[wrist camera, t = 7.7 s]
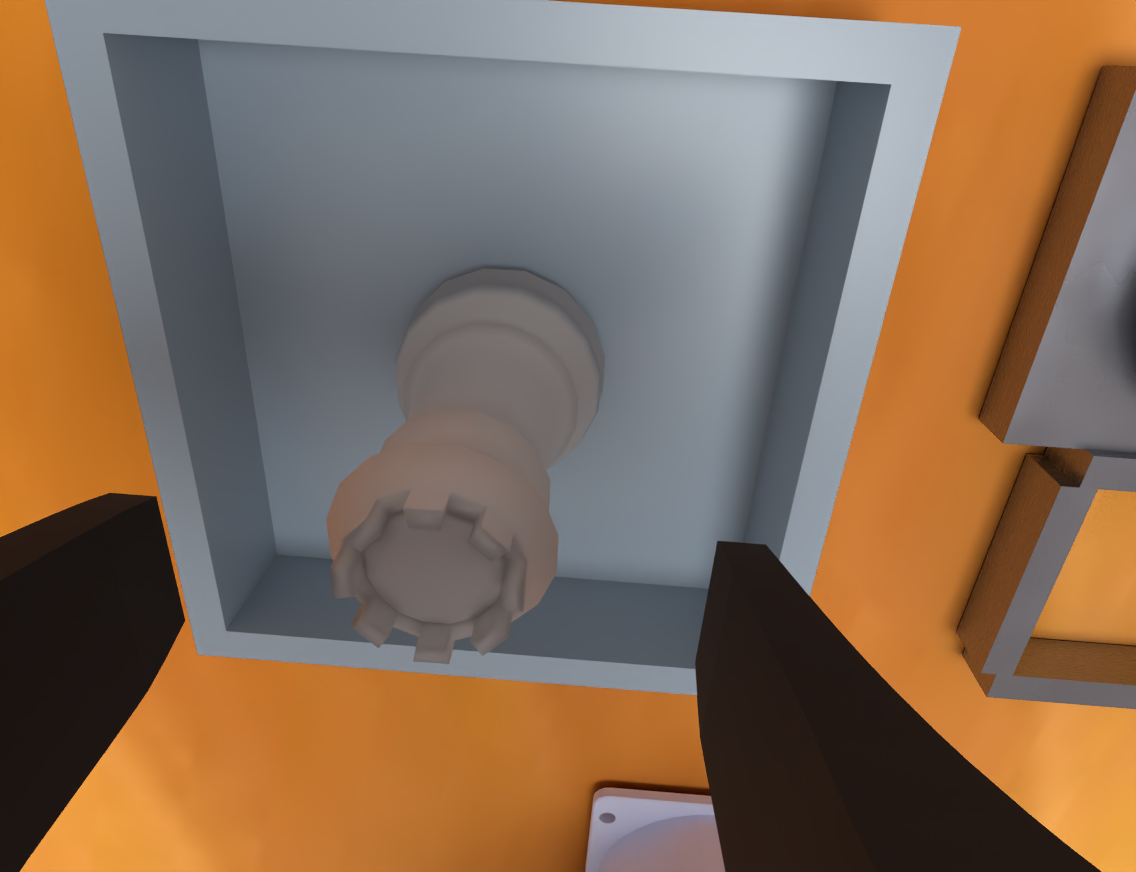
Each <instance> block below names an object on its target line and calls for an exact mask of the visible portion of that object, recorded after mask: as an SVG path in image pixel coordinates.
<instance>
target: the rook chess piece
mask: <svg viewBox="0 0 1136 872" xmlns="http://www.w3.org/2000/svg"><path fill="white" fill-rule="evenodd" d="M604 365H605V355H604V352H603V349H602V347H601V344H600V341H599V338H598V335H597V333H596V330H595V327H594V324H593V321H592V319H591V318H590V317H589V316H588V315H587V314H586V313H585V312H584V311H583V310H582V308H581V307H580V306H579V305H578V304H577V303H576V302H575V301H574V300H573V299H572V297H571V296H570V295H569V294H568V293H567V292H566V291H565V290H564V289H562V288H560V287H558V286H556V285H554V284H552V283H550V282H548V281H545V280H543V279H541V278H539V277H537V276H535V275H533V274H531V273H529V272H527V271H517V270H501V269H485V268H483V269H480V270H477V271H474V272H472V273H469V274H466V275H463V276H460V277H457V278H454V279H452V280H449V281H446V282H444V283H443V284H442V285H441V286H440V287H439V288H438V289H437V290H436V291H435V292H434V293H433V294H432V295H430V296H429V297H428V298H427V299H426V300H425V301H424V302H423V303H422V304H421V305H420V306H419V307H418V308H417V309H416V311H415V314H414V317H413V319H412V322H411V323H410V324H409V326H408V329H407V331H406V334H405V336H404V339H403V342H402V344H401V347H400V349H399V352H398V355H397V357H396V377H397V393H398V404H399V406H400V408H401V410H402V412H403V414H404V416H405V419H406V422H405V423H404V424H403V425H402V426H401V427H399V428H398V429H397V430H396V431H395V432H394V433H393V434H392V435H390V436H389V437H388V438H387V439H386V440H385V441H384V444H383V446H382V449H381V451H380V453H379V454H375V455H372V456H370V457H369V458H368V459H367V460H365V461H364V462H363V463H362V464H361V465H360V466H359V467H357V468H356V469H355V470H354V471H353V472H352V473H351V474H350V475H348V476H347V477H346V478H345V479H344V480H343V481H342V482H340V484H339V486H338V489H337V491H336V494H335V497H334V499H333V502H332V505H331V507H330V510H329V512H328V515H327V518H326V522H327V530H328V538H329V546H330V554H331V558H332V559H333V563H332V565H331V567H330V576H331V584H332V592H333V599H337V598H349V597H355V596H356V597H357V599H358V600H359V602H360V603H361V606H360V608H359V610H358V612H357V614H356V617H355V619H354V621H353V623H352V625H351V627H352V628H353V629H354V630H356V631H357V632H358V633H359V634H361V635H362V636H363V637H365V638H366V639H367V640H368V641H370V642H371V643H372V644H374V645H375V646H376V647H377V648H380V646H381V645H382V644H383V643H384V642H385V640H386V639H387V638H388V637H389V636H390V633H391V630H392V628H393V627H394V628H397V629H399V630H402V631H404V632H407V633H410V634H412V635H415V636H417V637H419V639H418V642H417V645H416V649H415V654H414V659H413V661H414V662H427V663H440V664H449V662H450V658H451V655H452V651H453V647H454V643H455V640H459V639H463V638H467V637H471V640H470V642H471V643H472V645H473V646H474V647H475V648H476V649H477V651H478V652H479V653H480V654H481V655H482V656H483V655H485V654H486V653H488V652H489V651H491V650H492V649H494V648H495V647H497V646H498V645H500V644H501V643H502V642H504V641H505V640H507V639H508V638H509V632H510V627H511V623H512V622H513V621H514V620H516V619H517V618H519V617H520V616H522V615H523V614H525V613H526V612H528V611H529V610H530V609H532V608H533V607H535V606H536V605H538V604H539V602H540V600H541V599H542V597H543V595H544V594H545V592H546V590H547V588H548V587H549V585H550V583H551V582H552V580H553V578H554V577H555V575H556V573H557V561H558V542H559V534H558V532H557V530H556V527H555V525H554V523H553V521H552V518H551V516H550V514H549V505H550V482H551V480H550V478H549V476H548V473H547V471H546V470H547V469H549V468H551V467H552V466H553V465H554V464H556V463H557V462H558V461H560V460H561V459H562V458H563V457H565V456H566V455H567V454H569V453H570V452H571V451H573V450H574V449H575V448H576V447H577V446H578V445H579V444H580V442H581V441H582V439H583V437H584V436H585V434H586V432H587V430H588V428H589V426H590V425H591V423H592V421H593V419H594V417H595V416H596V414H597V412H598V410H599V399H600V397H601V395H602V391H603V378H604Z"/></svg>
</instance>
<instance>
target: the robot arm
mask: <svg viewBox="0 0 1136 872" xmlns="http://www.w3.org/2000/svg"><path fill="white" fill-rule="evenodd" d="M184 622H185V618H184V613H183V609H182V605H181V601H180V596H179V592H178V588H177V583H176V579H175V575H174V571H173V566H172V562H171V558H170V553H169V549H168V545H167V541H166V536H165V532H164V528H163V523H162V519H161V515H160V511H159V506H158V502H157V498H156V497H155V496H142V495H129V494H117V493H108V494H105V495H102V496H100V497H97V498H94V499H91V500H88V501H85V502H83V503H80V504H77V505H75V506H72V507H70V508H68V509H65V510H63V511H60V512H58V513H55V514H53V515H51V516H48V517H46V518H44V519H41V520H39V521H37V522H34V523H32V524H30V525H27V526H25V527H23V528H21V529H18V530H16V531H14V532H12V533H9V534H7V535H5V536H3V537H0V872H20V870H21V869H22V867H23V866H24V864H25V863H26V861H27V860H28V858H29V857H30V856H31V854H32V853H33V851H34V850H35V849H36V847H37V846H38V844H39V843H40V842H41V840H42V839H43V838H44V836H45V835H46V833H47V832H48V831H49V829H50V828H51V826H52V825H53V824H54V822H55V821H56V819H57V818H58V817H59V815H60V814H61V813H62V811H63V810H64V808H65V807H66V806H67V804H68V803H69V801H70V800H71V799H72V797H73V796H74V794H75V793H76V792H77V790H78V789H79V788H80V786H81V785H82V783H83V782H84V781H85V779H86V778H87V776H88V775H89V774H90V772H91V771H92V769H93V768H94V767H95V765H96V764H97V763H98V761H99V760H100V758H101V757H102V756H103V754H104V753H105V751H106V750H107V749H108V747H109V746H110V744H111V743H112V742H113V740H114V739H115V737H116V736H117V734H118V733H119V732H120V730H121V729H122V727H123V726H124V725H125V723H126V722H127V720H128V719H129V717H130V716H131V715H132V713H133V712H134V710H135V709H136V708H137V706H138V705H139V703H140V702H141V700H142V699H143V697H144V696H145V694H146V693H147V691H148V690H149V688H150V686H151V684H152V683H153V681H154V679H155V677H156V675H157V674H158V672H159V670H160V668H161V666H162V665H163V663H164V661H165V659H166V657H167V655H168V653H169V651H170V649H171V647H172V645H173V643H174V641H175V639H176V637H177V635H178V634H179V632H180V630H181V628H182V626H183V624H184ZM695 669H696V685H697V702H698V715H699V728H700V739H701V744H702V750H703V756H704V761H705V767H706V772H707V777H708V783H709V788H710V794H711V796H706V795H694V794H682V793H671V792H659V791H647V790H635V789H623V788H611V787H608V788H602V789H599V790H598V791H597V792H595V794H594V796H593V804H592V813H591V822H590V831H589V840H588V849H587V858H586V867H585V872H1101V871H1100V870H1099V869H1097V868H1096V867H1095V866H1093V865H1092V864H1091V863H1090V862H1088V861H1087V860H1086V859H1084V858H1083V857H1082V856H1080V855H1079V854H1078V853H1077V852H1075V851H1074V850H1073V849H1071V848H1070V847H1069V846H1068V845H1066V844H1065V843H1064V842H1063V841H1062V840H1060V839H1059V838H1058V837H1057V836H1055V835H1054V834H1053V833H1052V832H1050V831H1049V830H1048V829H1047V828H1046V827H1044V826H1043V825H1042V824H1041V823H1039V822H1038V821H1037V820H1036V819H1034V818H1033V817H1032V816H1031V815H1030V814H1028V813H1027V812H1026V811H1025V810H1024V809H1023V808H1022V807H1020V806H1019V805H1018V804H1017V803H1016V802H1015V801H1013V800H1012V799H1011V798H1010V797H1009V796H1008V795H1007V794H1005V793H1004V792H1003V791H1002V790H1001V789H1000V788H999V787H997V786H996V785H995V784H994V783H993V782H992V781H990V780H989V779H988V778H987V777H986V776H985V775H984V774H982V773H981V772H980V771H979V770H978V769H977V768H975V767H974V766H973V765H972V764H971V763H970V762H969V761H967V760H966V759H965V758H964V757H963V756H962V755H961V754H960V753H959V752H958V751H957V750H956V749H954V748H953V747H952V746H951V745H950V744H949V743H948V742H947V741H946V740H945V739H944V738H943V737H942V736H940V735H939V734H938V733H937V732H936V731H935V730H934V729H933V728H932V727H931V726H930V725H929V724H928V723H927V722H926V721H925V720H924V719H923V718H922V717H921V716H920V715H919V714H918V713H917V712H916V711H915V710H914V709H913V708H912V707H911V706H910V705H909V704H908V703H907V702H906V701H905V700H904V699H903V698H902V697H901V696H900V695H899V694H898V693H897V692H896V691H895V690H894V689H893V688H892V687H891V686H890V685H889V684H888V683H887V682H886V681H885V680H884V679H883V678H882V677H881V676H880V675H879V674H878V672H877V671H876V670H875V669H874V668H873V667H872V666H871V665H870V664H869V663H868V662H867V661H866V660H865V659H864V658H863V656H862V655H861V654H860V653H859V652H858V651H857V650H856V649H855V648H854V647H853V646H852V644H851V643H850V642H849V641H848V640H847V639H846V638H845V637H844V636H843V634H842V633H841V632H840V631H839V630H838V629H837V628H836V627H835V625H834V624H833V623H832V622H831V621H830V620H829V619H828V617H827V616H826V615H825V614H824V613H823V612H822V610H821V609H820V608H819V607H818V606H817V605H816V603H815V602H814V601H813V600H812V599H811V597H810V596H809V595H808V594H807V593H806V592H805V590H804V589H803V588H802V587H801V586H800V584H799V583H798V582H797V581H796V580H795V578H794V577H793V576H792V575H791V574H790V572H789V571H788V570H787V569H786V568H785V566H784V565H783V564H782V563H781V562H780V560H779V559H778V558H777V557H776V556H775V555H774V553H773V552H772V551H771V550H770V549H769V548H768V546H767V545H766V544H753V543H740V542H728V541H717V545H716V551H715V556H714V562H713V567H712V573H711V578H710V584H709V589H708V594H707V600H706V605H705V611H704V616H703V622H702V627H701V633H700V638H699V644H698V649H697V654H696V660H695Z"/></svg>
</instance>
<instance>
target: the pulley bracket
mask: <svg viewBox="0 0 1136 872" xmlns="http://www.w3.org/2000/svg"><path fill="white" fill-rule="evenodd" d="M979 420H980V421H981V422H982V423H983V424H984V425H985V426H986V427H987V428H988V429H989V430H990V431H991V432H992V433H993V434H994V435H995V436H996V437H997V438H998V439H999V440H1000V441H1001V442H1002V443H1006V444H1019V445H1033V446H1046V447H1047V449H1046V451H1045V454H1044V455H1038V454H1027V455H1026V458H1025V460H1024V463H1023V465H1022V468H1021V470H1020V473H1019V476H1018V478H1017V481H1016V483H1015V486H1014V488H1013V491H1012V493H1011V496H1010V498H1009V501H1008V503H1007V506H1006V508H1005V511H1004V513H1003V516H1002V518H1001V521H1000V524H999V526H998V529H997V531H996V534H995V536H994V539H993V541H992V544H991V546H990V549H989V551H988V554H987V556H986V559H985V561H984V564H983V566H982V569H981V572H980V574H979V577H978V579H977V582H976V584H975V587H974V589H973V592H972V594H971V597H970V599H969V602H968V604H967V607H966V609H965V612H964V614H963V617H962V620H961V622H960V625H959V627H958V630H957V634H958V636H959V637H960V639H961V641H962V642H963V644H964V646H965V650H964V652H963V655H962V656H963V658H964V659H965V661H966V663H967V664H968V666H969V668H970V669H971V671H972V673H973V675H974V676H975V678H976V680H977V681H978V683H979V685H980V687H981V688H982V690H983V692H984V693H985V695H986V697H993V698H1005V699H1018V700H1030V701H1042V702H1055V703H1067V704H1079V705H1092V706H1104V707H1116V708H1129V709H1136V647H1134V646H1122V645H1109V644H1097V643H1084V642H1072V641H1059V640H1046V639H1034V638H1030V636H1031V634H1032V632H1033V630H1034V628H1035V625H1036V623H1037V621H1038V619H1039V617H1040V614H1041V612H1042V610H1043V608H1044V606H1045V604H1046V601H1047V599H1048V597H1049V595H1050V593H1051V590H1052V588H1053V586H1054V584H1055V582H1056V580H1057V577H1058V575H1059V573H1060V571H1061V569H1062V566H1063V564H1064V562H1065V560H1066V558H1067V556H1068V553H1069V551H1070V549H1071V547H1072V545H1073V542H1074V540H1075V538H1076V536H1077V534H1078V532H1079V529H1080V527H1081V525H1082V523H1083V521H1084V518H1085V516H1086V514H1087V512H1088V510H1089V508H1090V505H1091V503H1092V501H1093V499H1094V497H1095V494H1096V492H1097V490H1098V489H1104V490H1117V491H1130V492H1136V67H1122V66H1103V68H1102V70H1101V73H1100V76H1099V79H1098V82H1097V85H1096V87H1095V90H1094V93H1093V96H1092V99H1091V102H1090V105H1089V107H1088V110H1087V113H1086V116H1085V119H1084V122H1083V124H1082V127H1081V130H1080V133H1079V136H1078V139H1077V141H1076V144H1075V147H1074V150H1073V153H1072V156H1071V158H1070V161H1069V164H1068V167H1067V170H1066V173H1065V176H1064V178H1063V181H1062V184H1061V187H1060V190H1059V193H1058V195H1057V198H1056V201H1055V204H1054V207H1053V210H1052V212H1051V215H1050V218H1049V221H1048V224H1047V227H1046V229H1045V232H1044V235H1043V238H1042V241H1041V244H1040V246H1039V249H1038V252H1037V255H1036V258H1035V261H1034V264H1033V266H1032V269H1031V272H1030V275H1029V278H1028V281H1027V283H1026V286H1025V289H1024V292H1023V295H1022V298H1021V300H1020V303H1019V306H1018V309H1017V312H1016V315H1015V317H1014V320H1013V323H1012V326H1011V329H1010V332H1009V335H1008V337H1007V340H1006V343H1005V346H1004V349H1003V352H1002V354H1001V357H1000V360H999V363H998V366H997V369H996V371H995V374H994V377H993V380H992V383H991V386H990V388H989V391H988V394H987V397H986V400H985V403H984V405H983V408H982V411H981V414H980V417H979Z"/></svg>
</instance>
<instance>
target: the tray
mask: <svg viewBox="0 0 1136 872" xmlns="http://www.w3.org/2000/svg"><path fill="white" fill-rule="evenodd" d="M45 4H46V8H47V13H48V17H49V21H50V25H51V30H52V34H53V38H54V43H55V47H56V51H57V55H58V60H59V64H60V68H61V72H62V77H63V81H64V85H65V90H66V94H67V98H68V102H69V107H70V111H71V115H72V120H73V124H74V128H75V132H76V137H77V141H78V145H79V149H80V154H81V158H82V162H83V167H84V171H85V175H86V179H87V184H88V188H89V192H90V196H91V201H92V205H93V209H94V214H95V218H96V222H97V226H98V231H99V235H100V239H101V243H102V248H103V252H104V256H105V261H106V265H107V269H108V273H109V278H110V282H111V286H112V291H113V295H114V299H115V303H116V308H117V312H118V316H119V320H120V325H121V329H122V333H123V338H124V342H125V346H126V350H127V355H128V359H129V363H130V367H131V372H132V376H133V380H134V385H135V389H136V393H137V397H138V402H139V406H140V410H141V415H142V419H143V423H144V427H145V432H146V436H147V440H148V444H149V449H150V453H151V457H152V462H153V466H154V470H155V474H156V479H157V483H158V487H159V491H160V496H161V500H162V504H163V509H164V513H165V517H166V521H167V526H168V530H169V534H170V538H171V543H172V547H173V551H174V556H175V560H176V564H177V568H178V573H179V577H180V581H181V586H182V590H183V594H184V598H185V603H186V607H187V611H188V615H189V620H190V624H191V628H192V633H193V637H194V641H195V645H196V650H197V654H198V655H209V656H221V657H233V658H245V659H258V660H270V661H282V662H294V663H307V664H319V665H331V666H343V667H356V668H368V669H380V670H392V671H405V672H417V673H429V674H441V675H454V676H466V677H478V678H491V679H503V680H515V681H527V682H540V683H552V684H564V685H576V686H589V687H601V688H613V689H625V690H638V691H650V692H662V693H674V694H687V695H697V685H696V669H695V660H696V654H697V649H698V644H699V638H700V633H701V627H702V622H703V616H704V611H705V605H706V600H707V594H708V589H709V584H710V578H711V573H712V567H713V562H714V556H715V551H716V545H717V541H728V542H740V543H753V544H766V545H767V546H768V548H769V549H770V550H771V551H772V552H773V553H774V555H775V556H776V557H777V558H778V559H779V560H780V562H781V563H782V564H783V565H784V566H785V568H786V569H787V570H788V571H789V572H790V574H791V575H792V576H793V577H794V578H795V580H796V581H797V582H798V583H799V584H800V586H801V587H802V588H803V589H804V590H805V592H806V593H807V594H808V595H809V596H810V593H811V589H812V586H813V582H814V578H815V574H816V571H817V567H818V563H819V559H820V556H821V552H822V548H823V544H824V541H825V537H826V533H827V529H828V526H829V522H830V518H831V514H832V511H833V507H834V503H835V499H836V496H837V492H838V488H839V484H840V481H841V477H842V473H843V469H844V466H845V462H846V458H847V454H848V451H849V447H850V443H851V439H852V436H853V432H854V428H855V424H856V421H857V417H858V413H859V409H860V406H861V402H862V398H863V394H864V391H865V387H866V383H867V379H868V376H869V372H870V368H871V364H872V361H873V357H874V353H875V349H876V346H877V342H878V338H879V334H880V331H881V327H882V323H883V319H884V316H885V312H886V308H887V304H888V301H889V297H890V293H891V289H892V286H893V282H894V278H895V274H896V271H897V267H898V263H899V260H900V256H901V252H902V248H903V245H904V241H905V237H906V233H907V230H908V226H909V222H910V218H911V215H912V211H913V207H914V203H915V200H916V196H917V192H918V188H919V185H920V181H921V177H922V173H923V170H924V166H925V162H926V158H927V155H928V151H929V147H930V143H931V140H932V136H933V132H934V128H935V125H936V121H937V117H938V113H939V110H940V106H941V102H942V98H943V95H944V91H945V87H946V83H947V80H948V76H949V72H950V68H951V65H952V61H953V57H954V53H955V50H956V46H957V42H958V38H959V35H960V31H961V27H956V26H940V25H924V24H908V23H893V22H877V21H861V20H846V19H830V18H814V17H799V16H783V15H767V14H752V13H736V12H720V11H704V10H689V9H673V8H657V7H642V6H626V5H610V4H595V3H579V2H563V1H548V0H45ZM483 268H485V269H501V270H517V271H527V272H529V273H531V274H533V275H535V276H537V277H539V278H541V279H543V280H545V281H548V282H550V283H552V284H554V285H556V286H558V287H560V288H562V289H564V290H565V291H566V292H567V293H568V294H569V295H570V296H571V297H572V299H573V300H574V301H575V302H576V303H577V304H578V305H579V306H580V307H581V308H582V310H583V311H584V312H585V313H586V314H587V315H588V316H589V317H590V318H591V319H592V321H593V324H594V327H595V330H596V333H597V335H598V338H599V341H600V344H601V347H602V349H603V352H604V355H605V365H604V378H603V391H602V395H601V397H600V399H599V410H598V412H597V414H596V416H595V417H594V419H593V421H592V423H591V425H590V426H589V428H588V430H587V432H586V434H585V436H584V437H583V439H582V441H581V442H580V444H579V445H578V446H577V447H576V448H575V449H574V450H573V451H571V452H570V453H569V454H567V455H566V456H565V457H563V458H562V459H561V460H560V461H558V462H557V463H556V464H554V465H553V466H552V467H551V468H549V469H547V470H546V471H547V473H548V476H549V478H550V480H551V482H550V505H549V514H550V516H551V518H552V521H553V523H554V525H555V527H556V530H557V532H558V534H559V542H558V561H557V573H556V575H555V577H554V578H553V580H552V582H551V583H550V585H549V587H548V588H547V590H546V592H545V594H544V595H543V597H542V599H541V600H540V602H539V604H538V605H536V606H535V607H533V608H532V609H530V610H529V611H528V612H526V613H525V614H523V615H522V616H520V617H519V618H517V619H516V620H514V621H513V622H512V623H511V627H510V632H509V638H508V639H507V640H505V641H504V642H502V643H501V644H500V645H498V646H497V647H495V648H494V649H492V650H491V651H489V652H488V653H486V654H485V655H483V656H482V655H481V654H480V653H479V652H478V651H477V649H476V648H475V647H474V646H473V645H472V643H471V642H470V640H471V637H467V638H463V639H459V640H455V643H454V647H453V651H452V655H451V658H450V662H449V664H440V663H427V662H414V661H413V659H414V654H415V649H416V645H417V642H418V639H419V637H417V636H415V635H412V634H410V633H407V632H404V631H402V630H399V629H397V628H394V627H393V628H392V630H391V633H390V636H389V637H388V638H387V639H386V640H385V642H384V643H383V644H382V645H381V646H380V648H377V647H376V646H375V645H374V644H372V643H371V642H370V641H368V640H367V639H366V638H365V637H363V636H362V635H361V634H359V633H358V632H357V631H356V630H354V629H353V628H352V627H351V625H352V623H353V621H354V619H355V617H356V614H357V612H358V610H359V608H360V606H361V603H360V602H359V600H358V599H357V597H356V596H355V597H349V598H337V599H333V592H332V584H331V576H330V567H331V565H332V563H333V559H332V558H331V554H330V546H329V538H328V530H327V522H326V518H327V515H328V512H329V510H330V507H331V505H332V502H333V499H334V497H335V494H336V491H337V489H338V486H339V484H340V482H342V481H343V480H344V479H345V478H346V477H347V476H348V475H350V474H351V473H352V472H353V471H354V470H355V469H356V468H357V467H359V466H360V465H361V464H362V463H363V462H364V461H365V460H367V459H368V458H369V457H370V456H372V455H375V454H379V453H380V451H381V449H382V446H383V444H384V441H385V440H386V439H387V438H388V437H389V436H390V435H392V434H393V433H394V432H395V431H396V430H397V429H398V428H399V427H401V426H402V425H403V424H404V423H405V422H406V419H405V416H404V414H403V412H402V410H401V408H400V406H399V404H398V393H397V377H396V357H397V355H398V352H399V349H400V347H401V344H402V342H403V339H404V336H405V334H406V331H407V329H408V326H409V324H410V323H411V322H412V319H413V317H414V314H415V311H416V309H417V308H418V307H419V306H420V305H421V304H422V303H423V302H424V301H425V300H426V299H427V298H428V297H429V296H430V295H432V294H433V293H434V292H435V291H436V290H437V289H438V288H439V287H440V286H441V285H442V284H443V283H444V282H446V281H449V280H452V279H454V278H457V277H460V276H463V275H466V274H469V273H472V272H474V271H477V270H480V269H483Z"/></svg>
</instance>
